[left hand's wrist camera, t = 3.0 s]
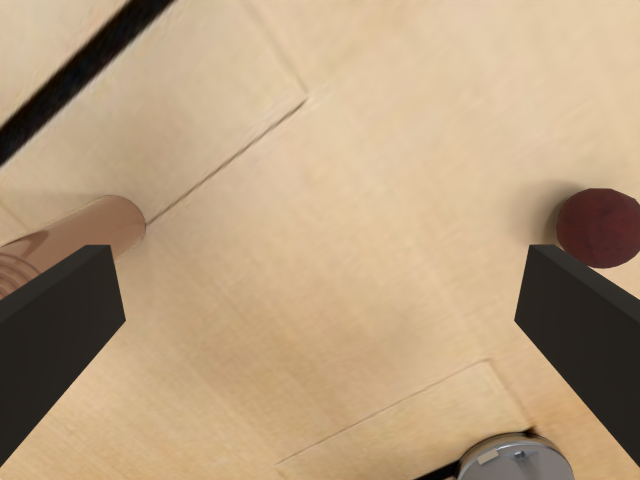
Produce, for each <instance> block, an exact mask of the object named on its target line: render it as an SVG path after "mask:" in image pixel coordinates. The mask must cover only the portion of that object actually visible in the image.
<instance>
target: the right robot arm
mask: <svg viewBox="0 0 640 480" xmlns="http://www.w3.org/2000/svg"><path fill="white" fill-rule="evenodd" d="M453 480H575V479H574V475H573V472H572V469H571V466H570V464H569V463H568V461H567V460H566V458H565V457H564V455H563V454H562V452H561V451H560V449H559V448H558V447H557V446H556V445H555V444H554V443H552V442H551V441H549V440H547V439H545V438H543V437H540V436H537V435H534V434H527V433H510V434H504V435H499V436H495V437H492V438H490V439H487V440H485V441H483V442H481V443H479V444H477V445H476V446H474V447H473V448H472V449H470V450H469V451H468V452H467V453H466V454H465V455H464V456H463V457H462V458H461V460H460V461H459V463H458V464H457V466H456V468H455V472H454V476H453Z"/></svg>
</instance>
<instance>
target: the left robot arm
mask: <svg viewBox="0 0 640 480" xmlns="http://www.w3.org/2000/svg"><path fill="white" fill-rule="evenodd" d="M125 321H126V319H125V314H124V309H123V304H122V299H121V294H120V289H119V284H118V279H117V275H116V270H115V265H114V260H113V255H112V250H111V245H85V246H83V247H82V248H80V249H78V250H77V251H75V252H74V253H72V254H71V255H69V256H68V257H66V258H65V259H63V260H61V261H60V262H58V263H57V264H55V265H54V266H52V267H51V268H49V269H47V270H46V271H44V272H43V273H41V274H40V275H38V276H37V277H35V278H34V279H32V280H30V281H29V282H27V283H26V284H24V285H23V286H21V287H20V288H18V289H17V290H15V291H13V292H12V293H10V294H9V295H7V296H6V297H4V298H3V299H1V300H0V467H1V466H2V465H3V464H4V463H5V462H6V460H7V459H8V458H9V457H10V456H11V454H12V453H13V452H14V451H15V450H16V449H17V447H18V446H19V445H20V444H21V443H22V442H23V440H24V439H25V438H26V437H27V436H28V435H29V433H30V432H31V431H32V430H33V429H34V428H35V426H36V425H37V424H38V423H39V422H40V421H41V419H42V418H43V417H44V416H45V415H46V414H47V412H48V411H49V410H50V409H51V408H52V407H53V405H54V404H55V403H56V402H57V401H58V399H59V398H60V397H61V396H62V395H63V394H64V392H65V391H66V390H67V389H68V388H69V387H70V385H71V384H72V383H73V382H74V381H75V380H76V378H77V377H78V376H79V375H80V374H81V373H82V371H83V370H84V369H85V368H86V367H87V366H88V364H89V363H90V362H91V361H92V360H93V359H94V357H95V356H96V355H97V354H98V353H99V351H100V350H101V349H102V348H103V347H104V346H105V344H106V343H107V342H108V341H109V340H110V339H111V337H112V336H113V335H114V334H115V333H116V332H117V330H118V329H119V328H120V327H121V326H122V325H123V323H124V322H125ZM514 321H515V322H516V323H517V325H518V326H519V327H520V328H521V329H522V330H523V332H524V333H525V334H526V335H527V336H528V337H529V339H530V340H531V341H532V342H533V343H534V344H535V346H536V347H537V348H538V349H539V350H540V351H541V353H542V354H543V355H544V356H545V357H546V359H547V360H548V361H549V362H550V363H551V364H552V366H553V367H554V368H555V369H556V370H557V371H558V373H559V374H560V375H561V376H562V377H563V378H564V380H565V381H566V382H567V383H568V384H569V385H570V387H571V388H572V389H573V390H574V391H575V392H576V394H577V395H578V396H579V397H580V398H581V399H582V401H583V402H584V403H585V404H586V405H587V407H588V408H589V409H590V410H591V411H592V412H593V414H594V415H595V416H596V417H597V418H598V419H599V421H600V422H601V423H602V424H603V425H604V426H605V428H606V429H607V430H608V431H609V432H610V433H611V435H612V436H613V437H614V438H615V439H616V440H617V442H618V443H619V444H620V445H621V446H622V447H623V449H624V450H625V451H626V452H627V453H628V454H629V456H630V457H631V458H632V459H633V460H634V462H635V463H636V464H637V465H638V466H639V467H640V300H639V299H637V298H636V297H634V296H633V295H631V294H630V293H628V292H627V291H625V290H623V289H622V288H620V287H619V286H617V285H616V284H614V283H613V282H611V281H610V280H608V279H606V278H605V277H603V276H602V275H600V274H599V273H597V272H596V271H594V270H593V269H591V268H589V267H588V266H586V265H585V264H583V263H582V262H580V261H579V260H577V259H575V258H574V257H572V256H571V255H569V254H568V253H566V252H565V251H563V250H562V249H560V248H558V247H557V246H555V245H529V250H528V255H527V260H526V265H525V270H524V274H523V279H522V284H521V289H520V294H519V299H518V304H517V309H516V314H515V319H514Z"/></svg>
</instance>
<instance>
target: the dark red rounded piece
mask: <svg viewBox="0 0 640 480" xmlns="http://www.w3.org/2000/svg"><path fill="white" fill-rule="evenodd" d="M557 238H558V241H559V243H560V244H561V246H562V247H563V249H564V251H565V252H566V253H568V254H569V255H571V256H572V257H574V258H575V259H577V260H579V261H580V262H582V263H583V264H585V265H587V266H590V267H593V268H601V269H604V268H611V267H616V266H619V265H621V264H623V263H626V262H628V261H629V260H630V259H632V258H633V257H635V256H636V255H637V253H638V252H639V251H640V205H639V203H638V202H637V201H636V199H634V198H632V197H629V196H627V195H625V194H623V193H620V192H618V191H615V190H613V189H587V190H584V191H581V192H579V193H576V194H575V195H573V196H572V197H571V198H570V199H569V200H567V201H566V203H565V204H564V206H563V208H562V209H561V212H560V215H559V219H558V222H557Z"/></svg>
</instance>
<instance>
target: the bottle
mask: <svg viewBox="0 0 640 480" xmlns="http://www.w3.org/2000/svg"><path fill="white" fill-rule="evenodd" d="M145 230H146V225H145V220H144V217H143V215H142V213H141V211H140V210H139V209H138V207H137V206H136V205H135V204H134V203H132V202H131V201H129V200H128V199H125V198H123V197H120V196H114V195H108V196H104V197H101V198H99V199H97V200H94V201H92V202H90V203H88V204H86V205H84V206H82V207H80V208H78V209H75V210H73V211H71V212H69V213H67V214H65V215H63V216H61V217H59V218H56V219H54V220H52V221H50V222H48V223H46V224H44V225H42V226H40V227H38V228H35V229H33V230H31V231H29V232H27V233H25V234H23V235H21V236H19V237H16V238H14V239H12V240H10V241H8V242H6V243H4V244H2V245H0V300H1V299H3V298H4V297H6V296H7V295H9V294H10V293H12V292H13V291H15V290H17V289H18V288H20V287H21V286H23V285H24V284H26V283H27V282H29V281H30V280H32V279H34V278H35V277H37V276H38V275H40V274H41V273H43V272H44V271H46V270H47V269H49V268H51V267H52V266H54V265H55V264H57V263H58V262H60V261H61V260H63V259H65V258H66V257H68V256H69V255H71V254H72V253H74V252H75V251H77V250H78V249H80V248H82V247H83V246H85V245H111V250H112V255H113V260H114V263H116V262H117V261H118V260H119V259H120V258H122V257H123V256H124V255H125V254H127V253H128V252H129V251H130V250H131V249H133V248H134V247H135V246H136V245H137V244H139V243H140V241H141V240H142V239H143V237H144V234H145Z"/></svg>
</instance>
